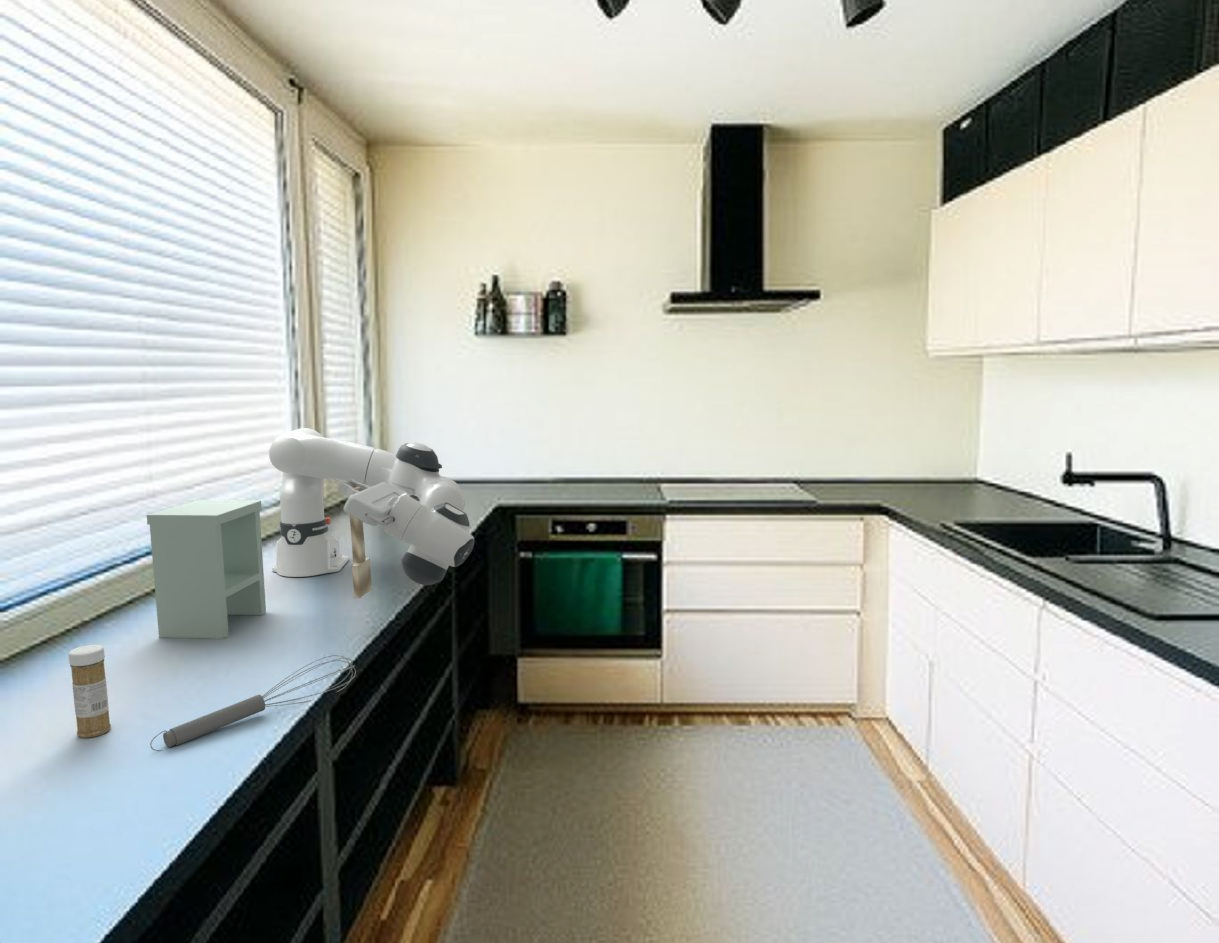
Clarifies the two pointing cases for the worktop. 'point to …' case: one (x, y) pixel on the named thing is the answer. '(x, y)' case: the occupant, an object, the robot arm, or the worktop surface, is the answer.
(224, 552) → the shelf
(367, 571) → the turner
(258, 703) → the kitchen whisk
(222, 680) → the worktop surface
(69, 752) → the worktop surface
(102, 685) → the sprinkles bottle
